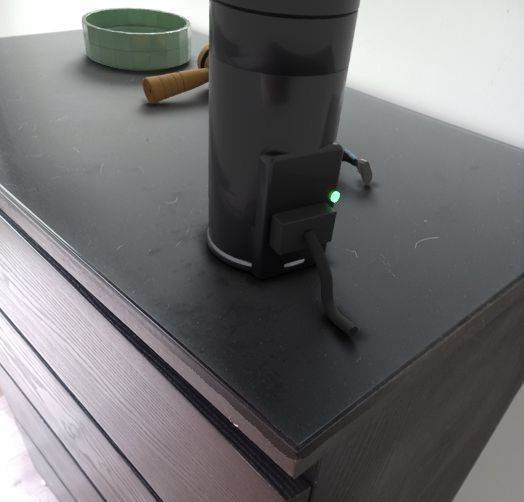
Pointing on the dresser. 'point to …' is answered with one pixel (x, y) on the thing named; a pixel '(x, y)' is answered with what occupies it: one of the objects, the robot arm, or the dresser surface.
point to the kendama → (177, 80)
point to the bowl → (137, 38)
